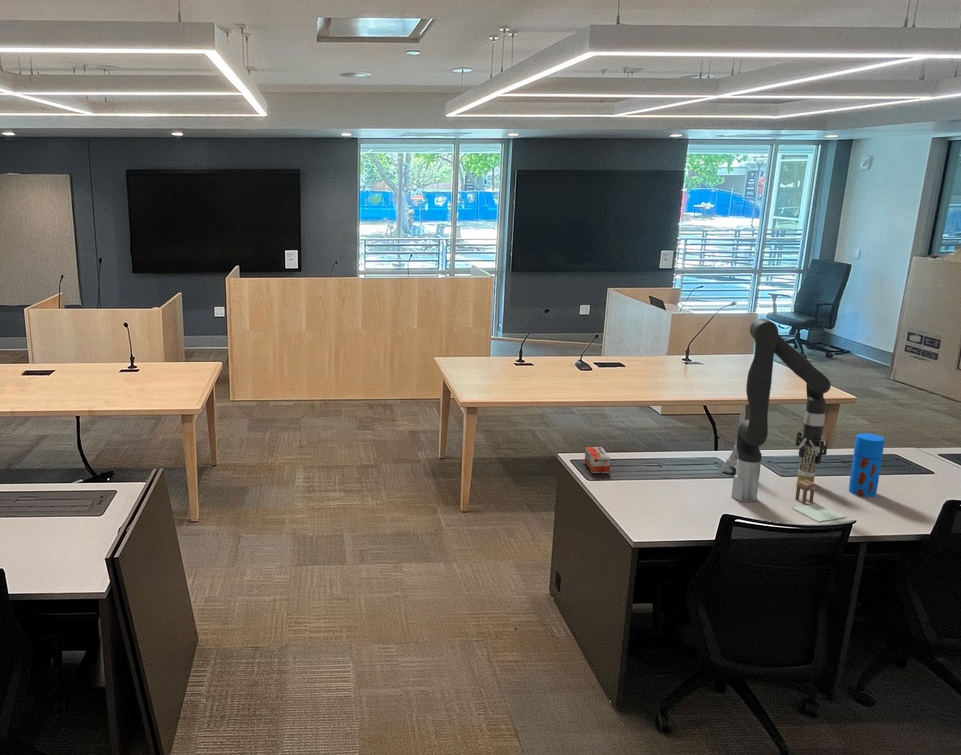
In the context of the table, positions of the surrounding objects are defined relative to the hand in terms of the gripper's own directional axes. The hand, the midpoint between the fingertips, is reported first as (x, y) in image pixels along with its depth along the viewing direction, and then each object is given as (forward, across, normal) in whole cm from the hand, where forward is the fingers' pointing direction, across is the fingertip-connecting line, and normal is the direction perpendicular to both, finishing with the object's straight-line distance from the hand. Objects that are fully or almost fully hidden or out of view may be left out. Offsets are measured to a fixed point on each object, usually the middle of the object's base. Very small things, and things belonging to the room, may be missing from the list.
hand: (809, 460), depth 311 cm
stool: (+18, 0, 0) cm, 18 cm away
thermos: (+18, +1, +31) cm, 36 cm away
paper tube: (+18, -16, +16) cm, 29 cm away
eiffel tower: (+18, -37, -4) cm, 41 cm away
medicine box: (+17, -61, -64) cm, 90 cm away
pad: (+18, +12, -4) cm, 22 cm away
